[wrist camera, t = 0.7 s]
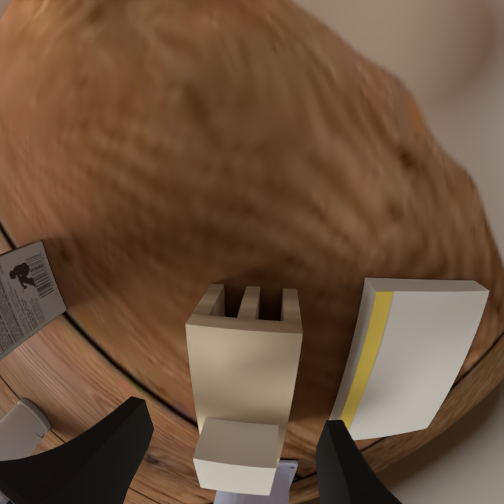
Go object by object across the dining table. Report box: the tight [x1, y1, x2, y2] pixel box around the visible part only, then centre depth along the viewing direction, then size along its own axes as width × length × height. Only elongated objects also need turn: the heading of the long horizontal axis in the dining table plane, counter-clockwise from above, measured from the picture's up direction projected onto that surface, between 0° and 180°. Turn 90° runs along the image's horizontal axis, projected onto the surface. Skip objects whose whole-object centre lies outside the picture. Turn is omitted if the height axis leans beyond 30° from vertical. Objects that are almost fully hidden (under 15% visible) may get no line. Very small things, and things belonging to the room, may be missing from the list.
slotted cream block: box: [185, 283, 303, 470], centre depth 15 cm, size 12×5×5 cm, turn 178°
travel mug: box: [0, 398, 51, 461], centre depth 15 cm, size 6×7×20 cm
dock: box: [329, 278, 489, 440], centre depth 15 cm, size 13×9×2 cm
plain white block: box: [193, 417, 278, 495], centre depth 12 cm, size 4×4×3 cm
